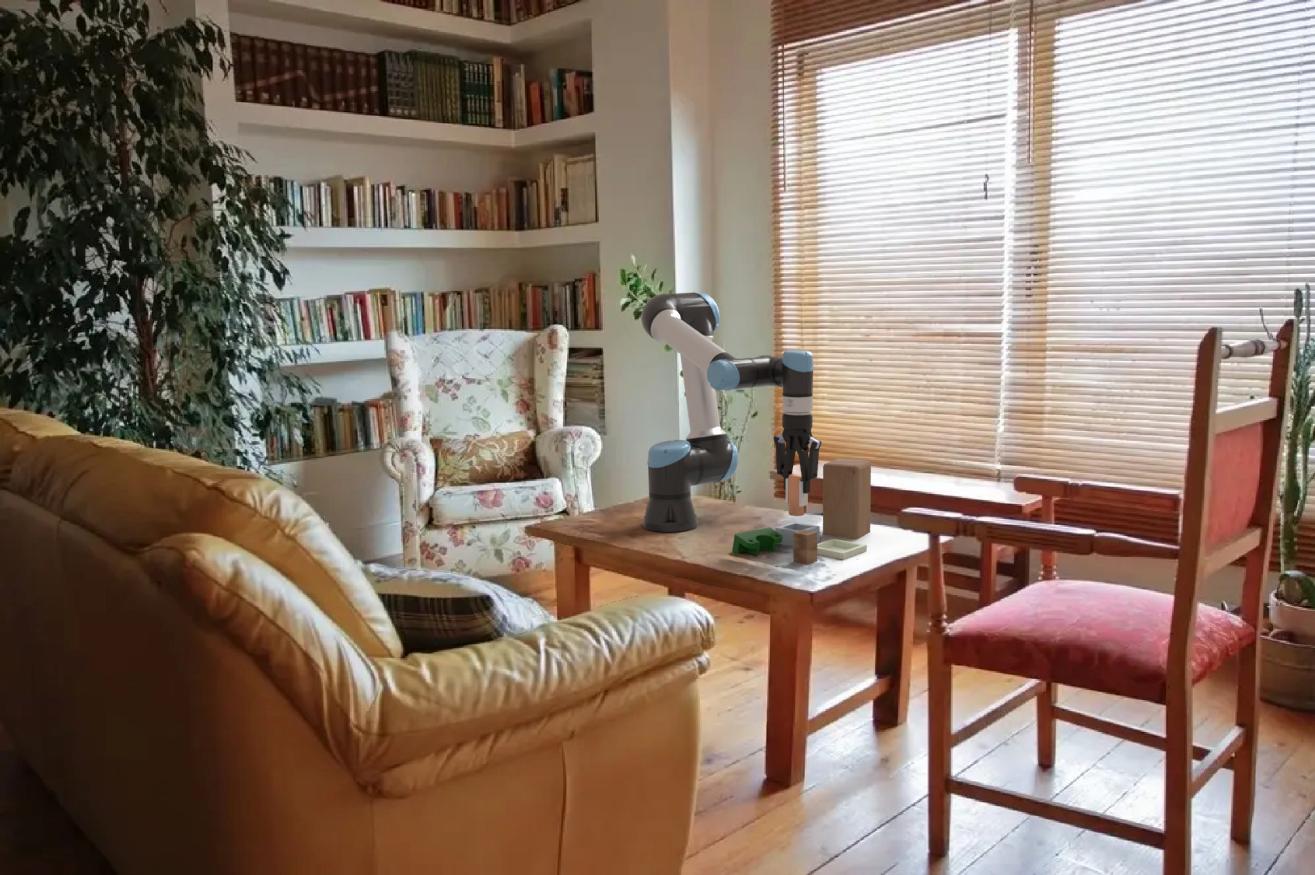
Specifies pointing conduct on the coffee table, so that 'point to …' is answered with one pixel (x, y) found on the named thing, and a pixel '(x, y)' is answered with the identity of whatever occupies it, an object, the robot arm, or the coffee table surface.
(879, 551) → the coffee table surface
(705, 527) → the coffee table surface
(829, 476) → the wooden block
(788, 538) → the socket
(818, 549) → the tray
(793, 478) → the peach rounded rod
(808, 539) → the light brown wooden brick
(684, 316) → the robot arm
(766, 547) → the clamp
